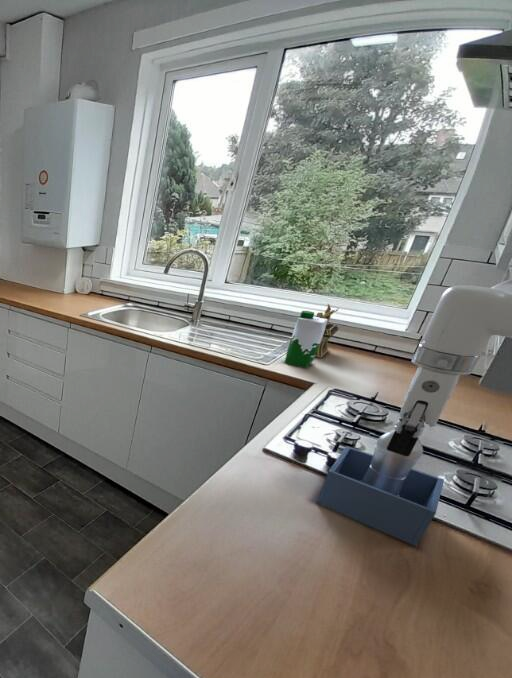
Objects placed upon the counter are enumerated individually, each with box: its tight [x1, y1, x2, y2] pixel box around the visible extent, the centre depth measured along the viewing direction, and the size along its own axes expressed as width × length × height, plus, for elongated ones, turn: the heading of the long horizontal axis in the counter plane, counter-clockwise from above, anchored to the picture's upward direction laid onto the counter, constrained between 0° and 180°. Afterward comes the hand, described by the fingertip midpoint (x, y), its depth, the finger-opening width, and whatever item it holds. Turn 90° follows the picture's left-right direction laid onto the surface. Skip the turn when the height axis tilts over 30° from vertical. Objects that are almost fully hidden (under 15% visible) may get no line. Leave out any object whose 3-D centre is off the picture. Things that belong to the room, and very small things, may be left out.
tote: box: [315, 445, 445, 547], centre depth 83 cm, size 16×15×8 cm
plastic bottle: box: [360, 417, 426, 496], centre depth 80 cm, size 6×7×20 cm
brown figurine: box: [314, 303, 340, 358], centre depth 169 cm, size 20×10×20 cm, turn 133°
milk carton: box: [284, 310, 328, 369], centre depth 155 cm, size 9×9×20 cm
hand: (400, 445), depth 78 cm, fingers closed on plastic bottle, 6 cm apart
